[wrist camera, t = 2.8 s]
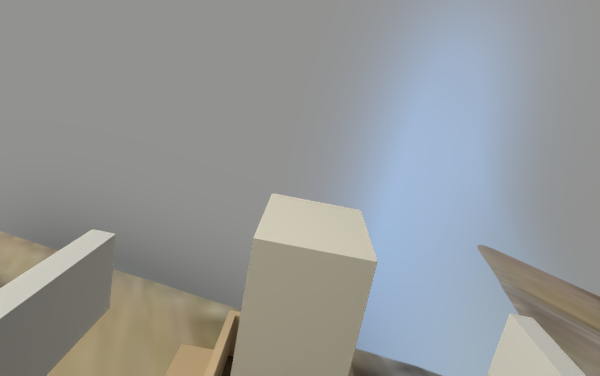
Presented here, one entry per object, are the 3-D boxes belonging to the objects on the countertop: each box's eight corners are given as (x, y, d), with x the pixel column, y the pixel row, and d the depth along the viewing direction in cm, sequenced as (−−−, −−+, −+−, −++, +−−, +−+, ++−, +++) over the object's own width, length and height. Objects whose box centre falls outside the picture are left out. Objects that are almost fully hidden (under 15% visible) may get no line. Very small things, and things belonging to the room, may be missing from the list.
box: (314, 404, 31) (360, 210, 27) (312, 511, 23) (377, 261, 19) (237, 389, 31) (272, 193, 27) (210, 492, 23) (253, 237, 19)
